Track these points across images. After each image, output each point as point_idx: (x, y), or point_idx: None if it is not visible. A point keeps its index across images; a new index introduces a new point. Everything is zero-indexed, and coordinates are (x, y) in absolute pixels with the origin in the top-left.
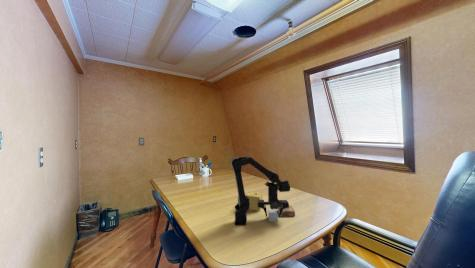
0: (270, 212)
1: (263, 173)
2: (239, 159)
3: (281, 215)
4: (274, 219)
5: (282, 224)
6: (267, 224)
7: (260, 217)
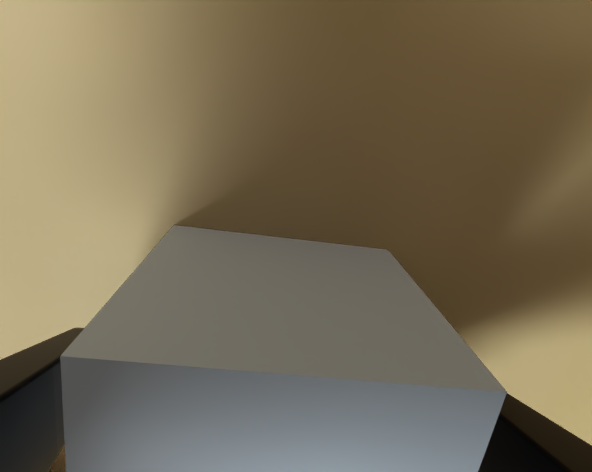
0: (420, 454)
1: None
2: None
3: None
4: (255, 249)
5: (61, 24)
6: (497, 77)
7: None
